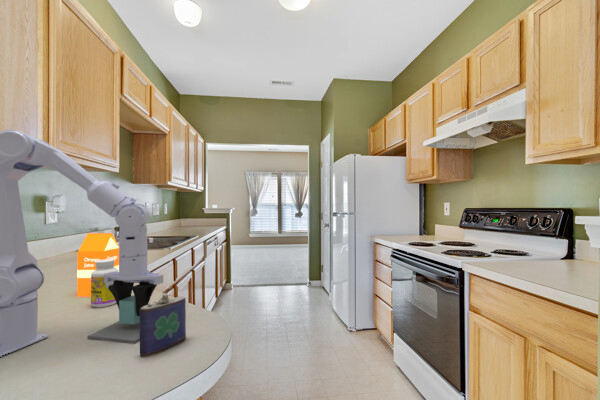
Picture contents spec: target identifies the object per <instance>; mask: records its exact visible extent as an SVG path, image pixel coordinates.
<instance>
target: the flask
mask: <svg viewBox="0 0 600 400" xmlns="http://www.w3.org/2000/svg"><path fill="white" fill-rule="evenodd" d="M170 296H171V294H168V293H167V292H165V293H162V294H161V298H160V299H158V301H154V302H153V303H150V302H149V303H148V305H146V306H143V307H142V308H141V309H140V310H139V314H140V318H139V320H140V341H139V357H141V358H145V357H146V358H147V357H151V356H154V355H157V354H158V353H162V352H164V351H166V350H169V349H171V348H173V347H175V346H177V345H179V344H181V343H183V342H184V341H186V339H187V328H186V324H187V323H186V318H187V317H186V315H187V313H186V311H187V310H186V301H187V300H186V298H187V297H185V296H176V297H174V298H171V299H170Z"/></svg>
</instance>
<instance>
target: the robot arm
mask: <svg viewBox="0 0 600 400" xmlns="http://www.w3.org/2000/svg"><path fill="white" fill-rule="evenodd" d="M44 167H46V168H47V167H48V168H52V169H54V170H55V171H56V172H58V173H60V174H62V175H63V176H64V177H65V178H66V179H69V180H70V181H71V182H73V184H75V185H77V186H78V187H80V188H81V189H83V190H85V192H86V195H87V197H86V198H87V200H88V201H90V202H91V203H92V204H93V205H95V206H97V208H99V209H100V210H102V211H103V212H104V213H106V214H107V215H109V216H110V217H112V218H114V221H115V222H116V224H117V226H119V236H118V246H119V272H110V273H106V274H104V282H110V281H112V282H114V283H113V285H110V286H108V289H109V290H110V292H111V293H112V294H113V296H114V298H115V300H116V303H115V304H116V305H117V309H118V310H119V301H120V300H123V299H125V298H128V297H130V296H132V293H133V295H134V296H135V300H136V313H137V316H140V314H139V310H140V309H141V308H142V307H143V306H146V305H148V303H150V301H151V297H152V295H153V293H154V291H155V289H156V287H157V286H158V285H160V284H163V283H164V274H163V273H155V272H150V270H148V227H147V226H148V224H147V223H148V221H149V220H150V212H149V210H148V209H147V208H146V206H145V205H144V204H142V203H141V204H140V203H136V201H137V199H136V198H135V197H130V196H129V195H128V194H126V193H125V192H123V191H122V190H121V189H119V188H120V185H119V184H117V183H116V182H111V181H108V180H102V181H101V180H99V179H97V178H95V177H94V176H93V175H92V174H91V173H90V172H88V171H87V170H86V169H85V168H83V167H82V166H81V165H80V164H79V163H77V162H76V161H74V159H72V158H71V157H70V156H68V155H67V153H64V152H63V151H62V150H60V149H58V148H57V147H55V146H52V145H51V144H50V143H48V142H47V141H45V140H41V139H38V138H35V137H34V136H31V135H28V134H27V133H25V132H23V131H21V130H18V129H6V130H2V131H0V356H1V357H3V356H2V355H4V356H6V355H8V353H9V354H11V353H13V352H16V351H18V350H21V349H23V348H25V347H28V346H29V345H32V344H35V343H36V342H39V341H42V340H44V339H46V338H48V337H49V334H48V333H38V313H39V312H38V308H39V307H38V305H39V296H38V295H39V294H38V290H40V289H41V287H42V286H43V284H44V282H45V273H44V272H43V270H42V269H41V268H40V267H39V265H38V260H37V258H36V257H35V256H34V255H33V254H31V253H30V251H29V247H28V240H27V233H26V229H25V228H26V227H25V220H24V212H23V207H22V202H21V195H20V188H19V181H20V180H22V178H24V177H25V176H26V175H27V174H29V173H31V172H35V171H36V170H38V169H41V168H44ZM135 283H136V285H135ZM5 354H6V355H5Z"/></svg>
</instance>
